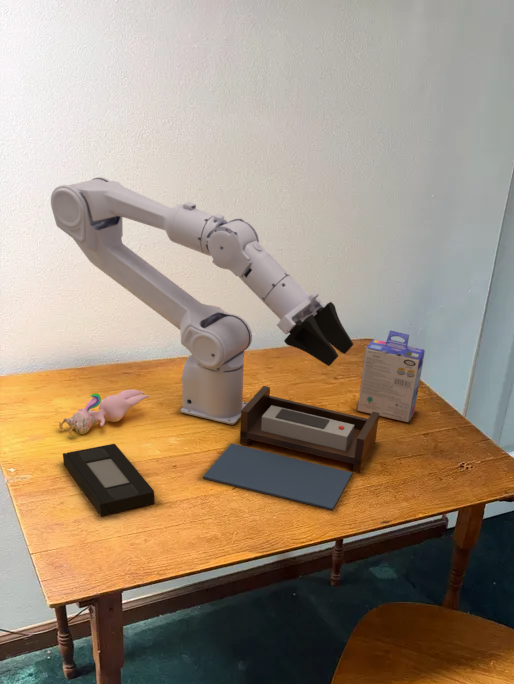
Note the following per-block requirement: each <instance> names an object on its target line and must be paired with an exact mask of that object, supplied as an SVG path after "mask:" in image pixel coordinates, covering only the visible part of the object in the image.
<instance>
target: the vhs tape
mask: <svg viewBox="0 0 514 684" xmlns="http://www.w3.org/2000/svg"><path fill="white" fill-rule="evenodd" d="M62 461H63V465H64V467H65V469H66V470H67V472H69V474H70V475H71V477H72V478H73V480H74V481H75V482H76V484H77V485H78V486H79V487H80V490H81V491H82V492H83V493H84V495H85V496H86V498H87V499H88V500H89V502H90V503H91V504H92V506H93V507H94V509H95V510H96V511H97V513H98V514H99V515H100V517H104V516H108V515H111V514H112V515H113V514H116V513H120V512H125V511H129V510H133V509H137V508H141V507H145V506H150V505H153V504H155V503H156V502H155V490H154V489H153V487H151V485H150V484H149V483H148V482H147V480H146V479H145V478H144V477H143V475H142V474H141V473H140V472H139V471H138V469H137V468H136V467H135V465H133V464H132V462H131V461H130V460H129V459H128V457H126V455H125V454H124V453H123V451H122V450H121V449H120V448H119V447H118V446H117V444H116V443H110V444H105V445H104V444H103V445H99V446H95V447H94V446H93V447H90V448H84V449H79V450H74V451H69V452H64V453H62Z"/></svg>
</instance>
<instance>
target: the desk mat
mask: <svg viewBox="0 0 514 684" xmlns="http://www.w3.org/2000/svg"><path fill="white" fill-rule="evenodd" d="M352 476H353V471H347V470H344V469H340V468H335V467H330V466H327V465H323V464H319V463H314V462H310V461H306V460H303V459H299V458H294V457H290V456H286V455H282V454H277V453H274V452H269V451H265V450H260V449H257V448H253V447H249V446H246V445H241V444H236V443H233V442H232V443H230V444H229V445H228V447H227V448H226V449H225V450H224V451H223V453H221V455H219V457H218V458H217V459H216V461H214V463H213V464H212V465H211V466H210V467H209V469H208V470H207V471H206V472H205V473H204V474H203V476H202V479H204V480H208V481H210V482H215V483H219V484H223V485H226V486H227V485H228V486H232V487H235V488H240V489H243V490H248V491H252V492H255V493H260V494H264V495H267V496H271V497H276V498H280V499H284V500H288V501H292V502H297V503H300V504H305V505H309V506H313V507H315V508H321V509H325V510H328V511H334V509H335V507H336V506H337V503H338V502H339V500H340V498H341V496H342V494H343V492H344V490H345V488H346V487H347V485H348V483H349V482H350V479H351V477H352Z"/></svg>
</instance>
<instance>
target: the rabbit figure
mask: <svg viewBox="0 0 514 684" xmlns="http://www.w3.org/2000/svg"><path fill="white" fill-rule="evenodd" d="M89 397H91V398H90V400H89V401H88V402H87V403H86V405H85V407H84V408H78V409H77V411H76V412H75V413H73V415H72V416H70V417H69V418H63V419H62V421H61V422H60V421H58V426H59V428H58V429H59V430H60V429H61V430H60V432H63V431H64V427H63V426H64V424H65V423H66V424H67V425H68V426H69V427H67V429H68V434H67V436H70V438H71V439H72V438H73V436H74V435H73V430H75V432H77V434H80V435H84V434H86V433H88V432H89V431H90V429H91V428H92V426H93V425H98V424H99V426H100V427H104V426H105V424H106V422H110V423H114V422H115V423H116V422H119V421H121V419H122V418H124V417H125V416H126V414H127V412H128V411H129V410H130V409H133V407H135V406H136V405H137V404H139V403H141V402H142V401H144V400H145V399H149V398H150V395H148V394H145V392H144V391H141V390H138V389H133V388H132V389H131V388H130V389H129V388H128V389H125V390H122V391H120V392H119V393H118V394H111V395H108V396H106V397H105V398H103V399H102V397H101V395H100V394H99V393H98V392H93V393H91V394H90V395H89ZM97 407H98V411H95V410H91V409H94V408H97Z"/></svg>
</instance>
